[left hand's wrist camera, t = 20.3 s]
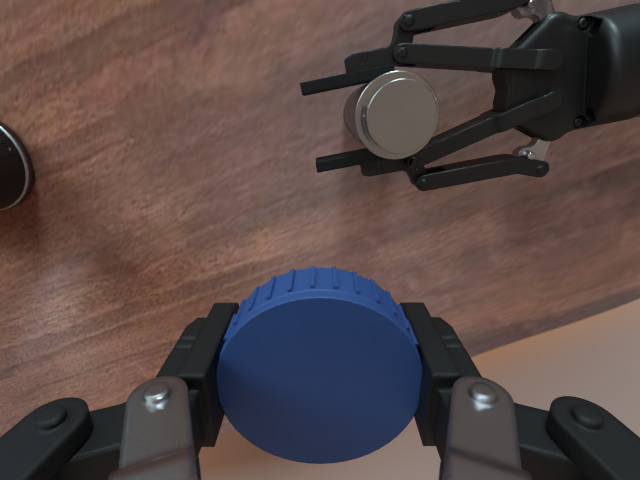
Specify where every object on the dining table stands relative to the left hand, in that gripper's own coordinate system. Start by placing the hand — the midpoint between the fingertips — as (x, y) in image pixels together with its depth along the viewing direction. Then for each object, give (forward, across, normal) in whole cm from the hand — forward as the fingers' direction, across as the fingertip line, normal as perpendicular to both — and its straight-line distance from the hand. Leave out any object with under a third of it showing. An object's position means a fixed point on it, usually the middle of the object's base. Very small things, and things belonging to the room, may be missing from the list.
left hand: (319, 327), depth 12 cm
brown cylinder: (+25, +5, +6) cm, 26 cm away
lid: (-3, 0, 0) cm, 3 cm away
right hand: (+18, -1, +5) cm, 19 cm away
